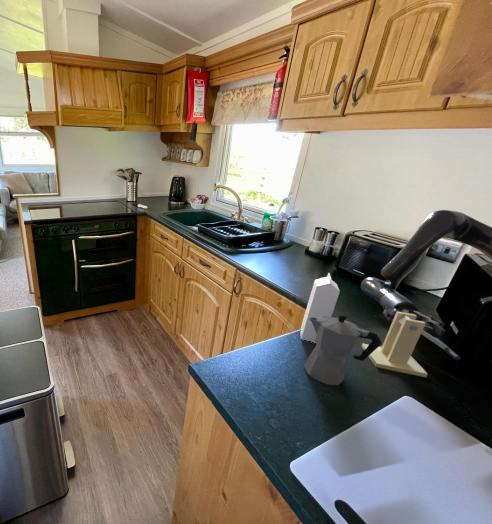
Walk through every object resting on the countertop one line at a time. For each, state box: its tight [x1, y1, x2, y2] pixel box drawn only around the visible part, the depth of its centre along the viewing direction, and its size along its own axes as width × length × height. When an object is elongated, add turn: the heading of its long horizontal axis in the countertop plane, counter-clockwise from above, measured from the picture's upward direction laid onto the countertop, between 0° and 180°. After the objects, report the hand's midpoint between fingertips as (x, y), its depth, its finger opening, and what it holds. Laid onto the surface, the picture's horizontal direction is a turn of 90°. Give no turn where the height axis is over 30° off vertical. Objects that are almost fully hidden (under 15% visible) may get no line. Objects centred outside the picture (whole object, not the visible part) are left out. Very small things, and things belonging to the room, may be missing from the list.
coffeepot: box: [303, 313, 382, 386], centre depth 74 cm, size 15×9×18 cm, turn 58°
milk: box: [299, 272, 341, 344], centre depth 90 cm, size 6×6×22 cm
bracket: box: [361, 312, 429, 378], centre depth 82 cm, size 12×10×15 cm
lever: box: [399, 315, 461, 361], centre depth 80 cm, size 14×9×2 cm, turn 72°
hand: (425, 330), depth 88 cm, fingers open, 8 cm apart
